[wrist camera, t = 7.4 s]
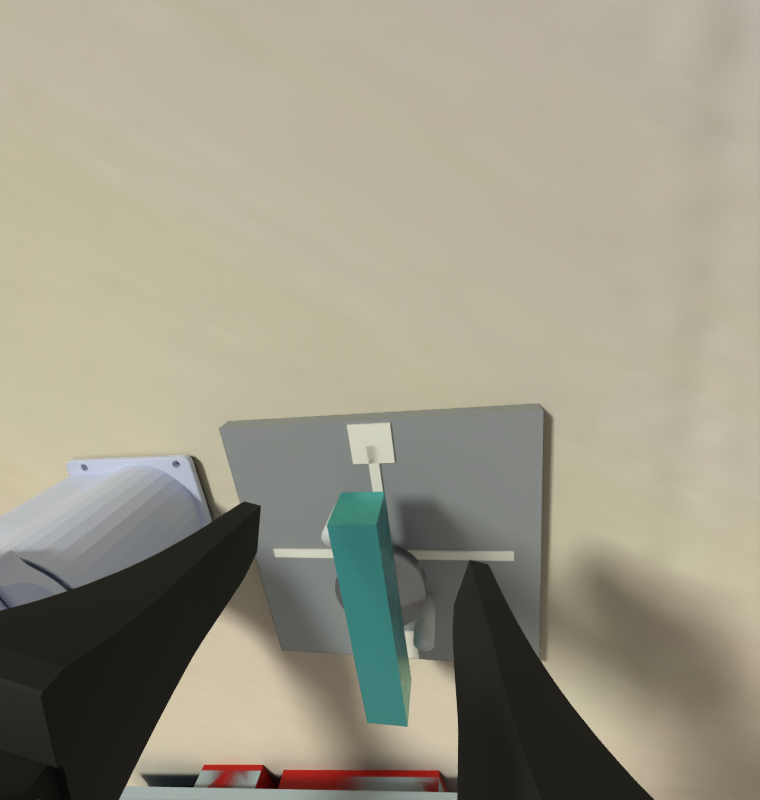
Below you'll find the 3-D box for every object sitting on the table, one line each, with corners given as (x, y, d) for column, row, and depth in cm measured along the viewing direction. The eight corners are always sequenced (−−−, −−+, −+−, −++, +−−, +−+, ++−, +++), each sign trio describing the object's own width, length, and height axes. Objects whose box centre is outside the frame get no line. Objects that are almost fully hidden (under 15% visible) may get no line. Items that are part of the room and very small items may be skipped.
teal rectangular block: (435, 660, 24) (433, 729, 20) (356, 656, 25) (342, 720, 21) (415, 477, 20) (408, 524, 16) (321, 480, 20) (296, 525, 17)
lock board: (287, 637, 29) (264, 692, 26) (227, 421, 24) (187, 452, 20) (535, 652, 26) (550, 717, 22) (538, 403, 20) (560, 436, 16)
